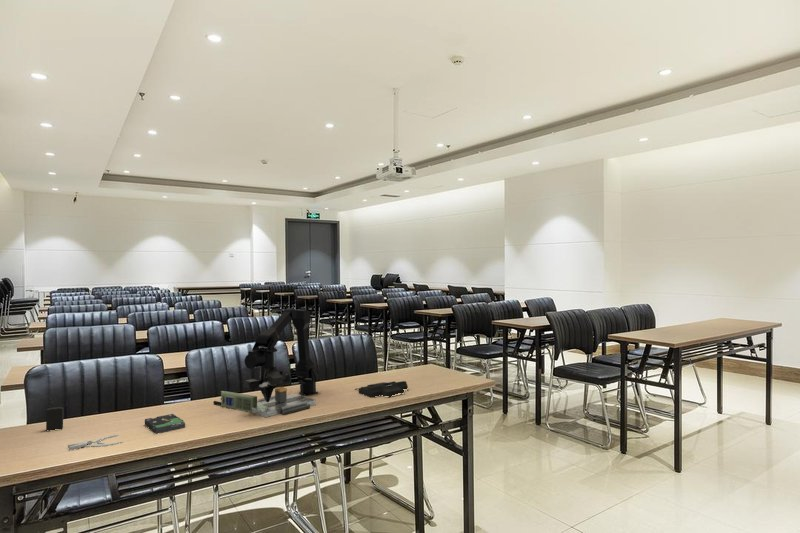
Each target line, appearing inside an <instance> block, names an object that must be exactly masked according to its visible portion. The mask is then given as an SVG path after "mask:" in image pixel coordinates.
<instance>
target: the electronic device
mask: <svg viewBox="0 0 800 533" xmlns="http://www.w3.org/2000/svg"><path fill="white" fill-rule="evenodd" d="M407 388H408V389H409V386H408V383H407V381H405V380H403V381H389V382H377V383H371V384H367V386H361V387H359V388H356V390H358V393H359V394H361V395H363V394H364V396H366V395H367V396H366V397H368V396H371V397H374V398H376V397H375V396H379V395H383V396H392V395H395V394H398V393H403V392H404V390H403V389H407ZM404 393H405V392H404ZM383 396H382V397H383ZM371 397H370V398H371ZM379 397H380V396H379Z"/></svg>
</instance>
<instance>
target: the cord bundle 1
mask: <svg viewBox="0 0 800 533" xmlns="http://www.w3.org/2000/svg"><path fill="white" fill-rule="evenodd" d="M307 409H311V406H310V405H309V404H308V405H307V401H304V402H300V403H296V404H292V405H288V406H284V407H282V409H281V410H280V411H279V413H281V414H282V415H284V416H285V415H287V414H292V413H296V412H299V411H304V410H307Z"/></svg>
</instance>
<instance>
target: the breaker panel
mask: <svg viewBox="0 0 800 533" xmlns="http://www.w3.org/2000/svg"><path fill="white" fill-rule="evenodd" d="M304 401H307V405H308V404H309V405H310V407H311V406H315V405H317V404H316V399H314V398H312V397H307V396H305V395H301V394H296V393H292V394H287V401H286V402H282V403H280V402H277V401H275V398H273V399H270V401H269V402H266V400H265V401H260V402H257V406H255V407H252V412H253V414H256V415H258V416H261V417H263V418H268V417H273V416H276V415H281V414H282V413H279V411H280V410H281V409H282V407H284V406H288V405H292V404H296V403H300V402H304ZM252 412H251V413H252Z"/></svg>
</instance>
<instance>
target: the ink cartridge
mask: <svg viewBox="0 0 800 533" xmlns="http://www.w3.org/2000/svg"><path fill="white" fill-rule="evenodd" d="M45 414H46V416H45V417H46V419H45V420H46V421H45V422H46V423H45V431H46V432H48V431H47V430H55V429H61V430H63V428H64V406H63V407H62V406H58V407H50V408H47V409H46V412H45ZM55 431H56V430H55Z"/></svg>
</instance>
